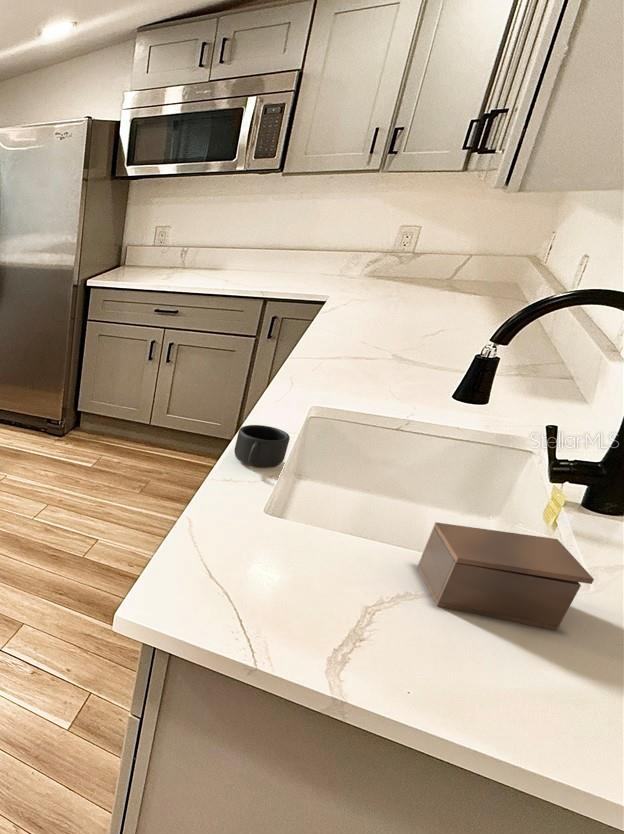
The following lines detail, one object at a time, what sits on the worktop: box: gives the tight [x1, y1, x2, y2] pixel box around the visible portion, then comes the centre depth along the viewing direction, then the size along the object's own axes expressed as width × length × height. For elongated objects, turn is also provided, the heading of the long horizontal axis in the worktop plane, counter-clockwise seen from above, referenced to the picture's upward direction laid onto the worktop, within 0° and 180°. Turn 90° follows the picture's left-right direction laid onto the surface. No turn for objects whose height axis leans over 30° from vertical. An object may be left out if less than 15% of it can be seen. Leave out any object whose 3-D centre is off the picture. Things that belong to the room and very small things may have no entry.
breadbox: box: [416, 526, 582, 631], centre depth 90 cm, size 12×10×8 cm
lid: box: [433, 521, 595, 585], centre depth 88 cm, size 13×10×1 cm
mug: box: [233, 424, 291, 469], centre depth 131 cm, size 12×9×7 cm
